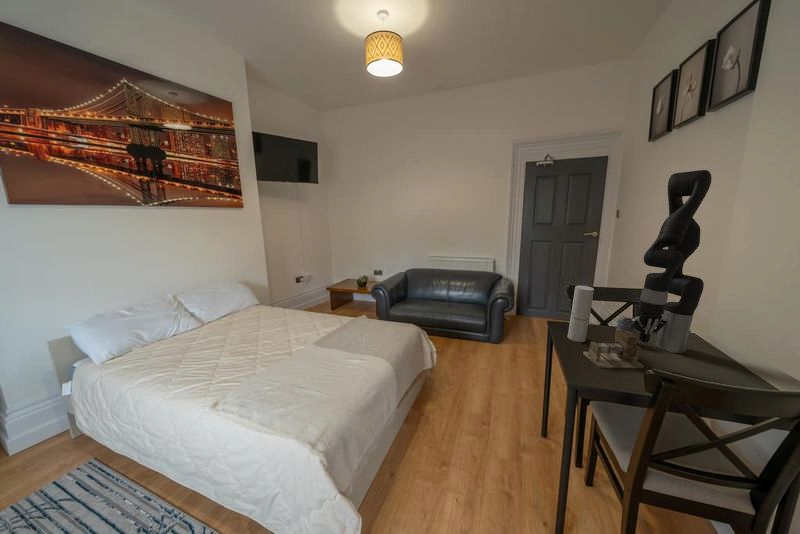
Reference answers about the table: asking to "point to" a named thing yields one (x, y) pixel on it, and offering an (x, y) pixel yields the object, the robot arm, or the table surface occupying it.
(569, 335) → the cylindrical container
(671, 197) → the robot arm
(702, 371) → the table surface
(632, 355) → the brown rectangular block
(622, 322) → the beverage can
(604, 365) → the pipe rack
